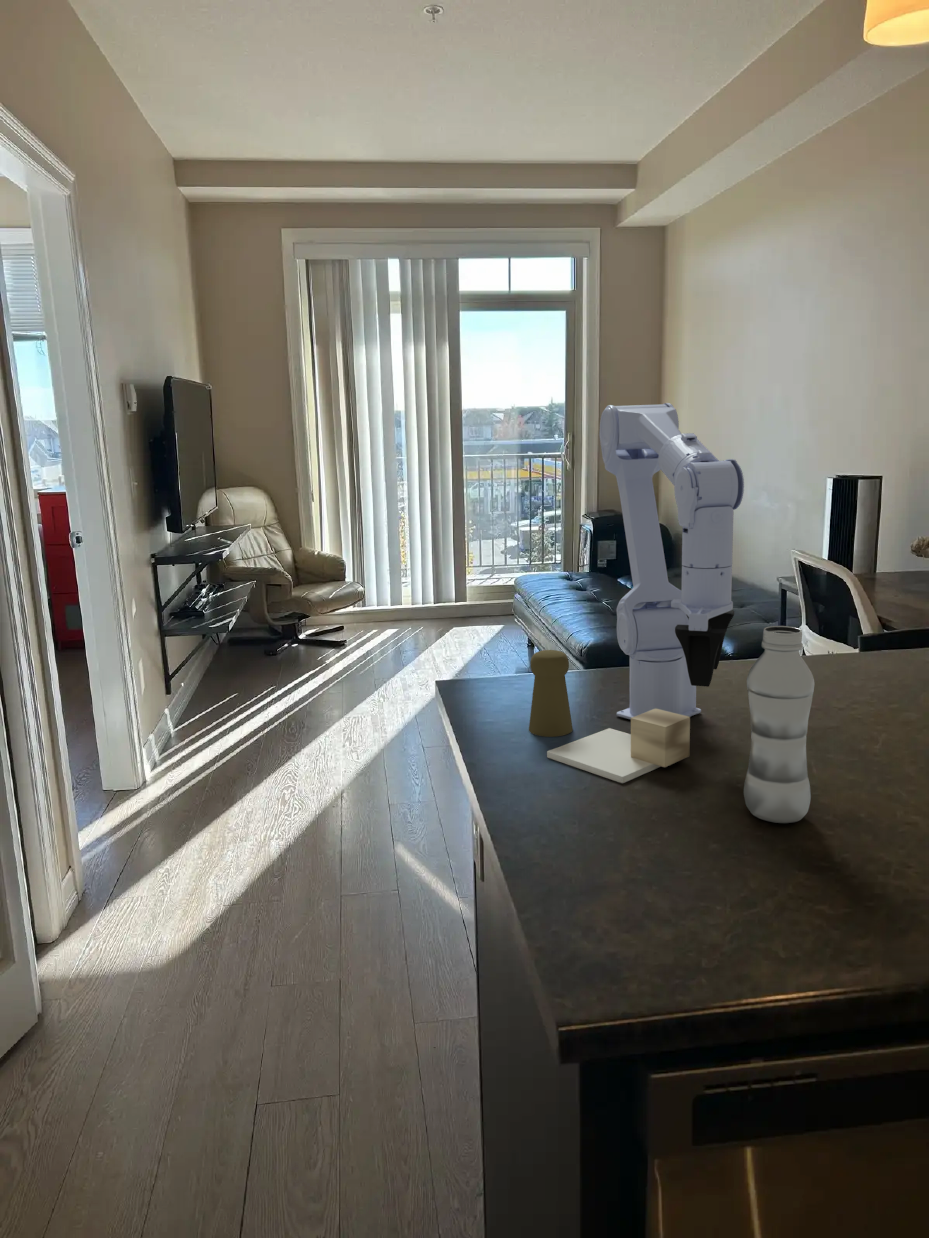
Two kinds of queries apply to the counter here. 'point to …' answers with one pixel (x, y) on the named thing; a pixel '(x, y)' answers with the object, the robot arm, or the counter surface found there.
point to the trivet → (603, 756)
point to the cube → (660, 737)
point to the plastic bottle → (779, 728)
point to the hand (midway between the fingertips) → (704, 676)
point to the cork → (550, 695)
